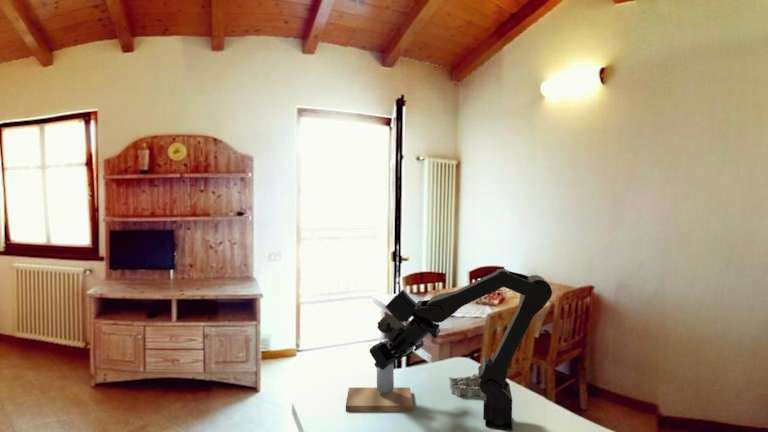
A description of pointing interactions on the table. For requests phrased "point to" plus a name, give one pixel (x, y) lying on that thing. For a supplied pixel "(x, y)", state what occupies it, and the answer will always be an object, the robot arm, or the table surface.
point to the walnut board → (379, 400)
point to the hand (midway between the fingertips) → (381, 363)
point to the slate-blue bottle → (385, 375)
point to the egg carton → (462, 387)
